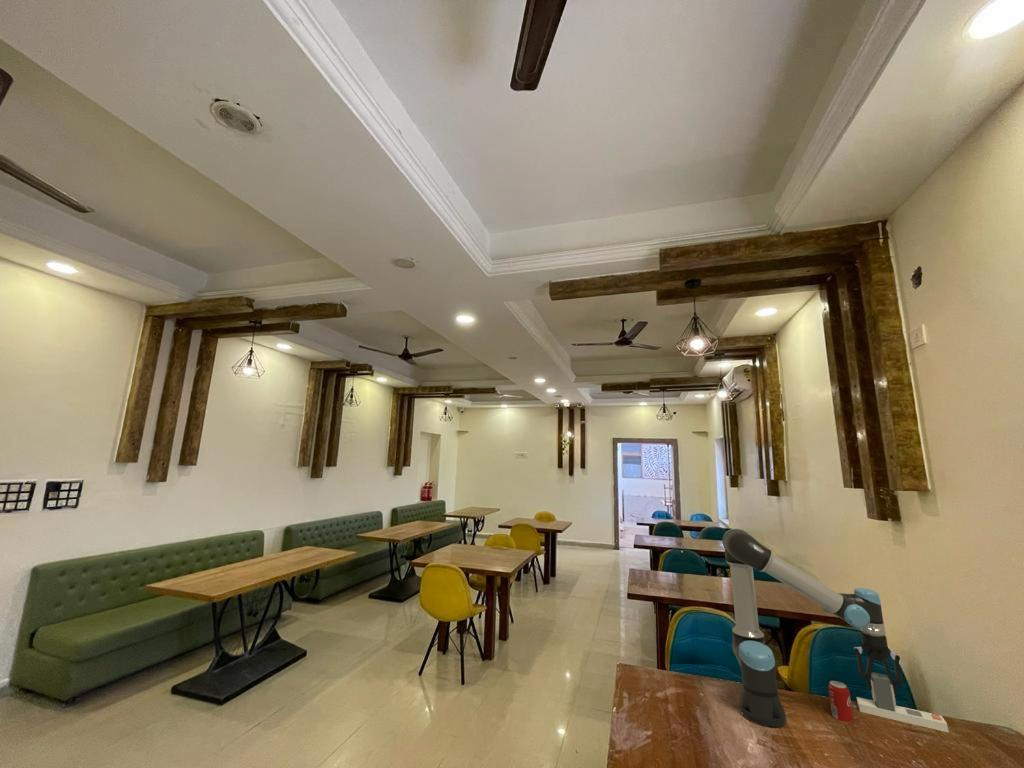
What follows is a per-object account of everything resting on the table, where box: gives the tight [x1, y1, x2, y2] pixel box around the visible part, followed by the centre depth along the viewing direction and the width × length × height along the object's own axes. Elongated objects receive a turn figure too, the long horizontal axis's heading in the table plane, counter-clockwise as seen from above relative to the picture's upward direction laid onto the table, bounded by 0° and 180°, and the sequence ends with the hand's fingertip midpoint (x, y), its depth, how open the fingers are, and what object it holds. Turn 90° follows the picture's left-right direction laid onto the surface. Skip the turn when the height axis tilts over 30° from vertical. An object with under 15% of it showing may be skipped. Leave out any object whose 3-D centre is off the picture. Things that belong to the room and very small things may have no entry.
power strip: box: [851, 696, 950, 733], centre depth 154 cm, size 27×6×4 cm, turn 58°
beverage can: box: [827, 680, 854, 724], centre depth 154 cm, size 6×6×12 cm
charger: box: [871, 672, 895, 711], centre depth 156 cm, size 5×5×13 cm
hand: (884, 701), depth 156 cm, fingers closed on charger, 5 cm apart
